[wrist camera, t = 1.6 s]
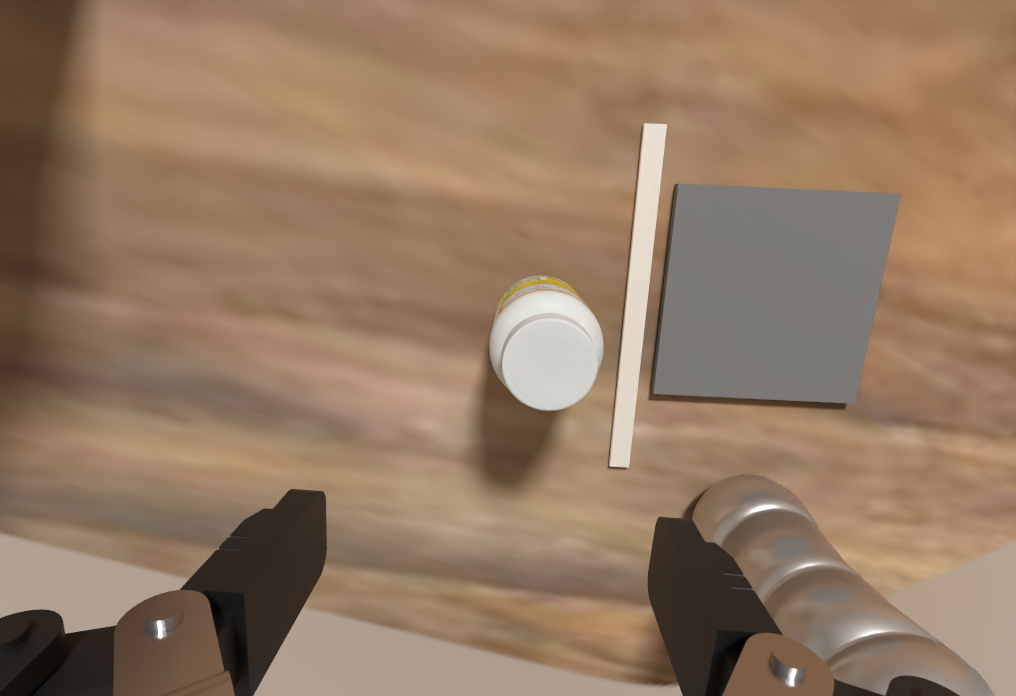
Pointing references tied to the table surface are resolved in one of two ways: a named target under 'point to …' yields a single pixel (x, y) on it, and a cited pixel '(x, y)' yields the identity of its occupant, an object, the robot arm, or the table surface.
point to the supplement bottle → (545, 343)
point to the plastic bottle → (822, 591)
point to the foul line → (637, 290)
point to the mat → (770, 292)
